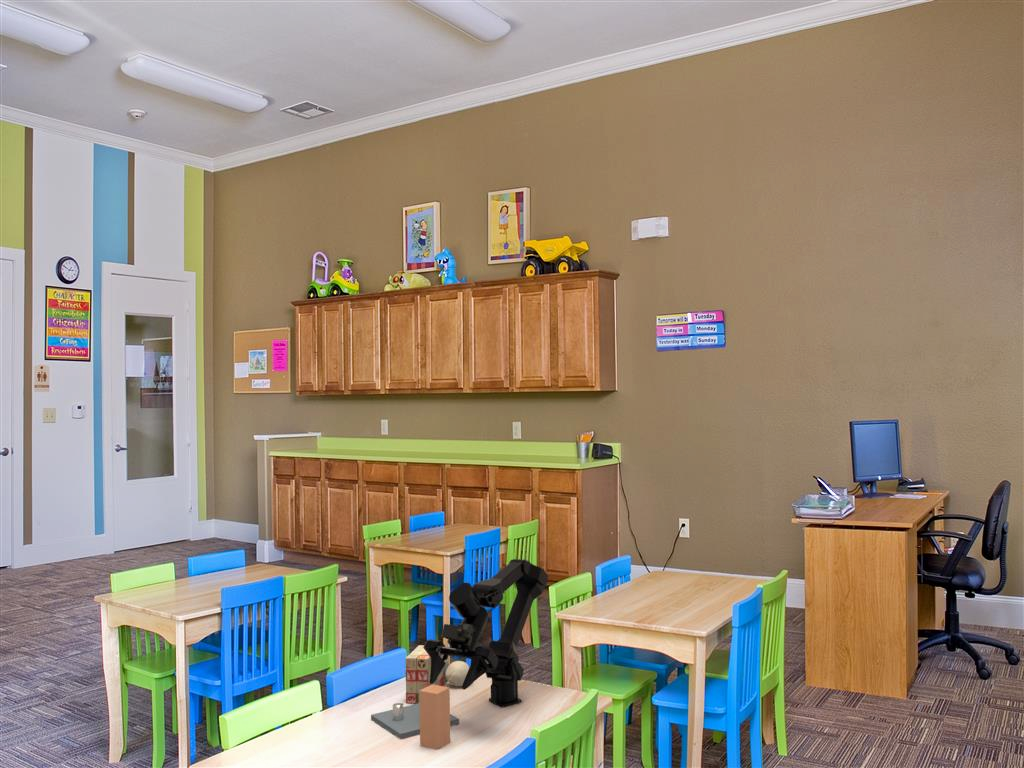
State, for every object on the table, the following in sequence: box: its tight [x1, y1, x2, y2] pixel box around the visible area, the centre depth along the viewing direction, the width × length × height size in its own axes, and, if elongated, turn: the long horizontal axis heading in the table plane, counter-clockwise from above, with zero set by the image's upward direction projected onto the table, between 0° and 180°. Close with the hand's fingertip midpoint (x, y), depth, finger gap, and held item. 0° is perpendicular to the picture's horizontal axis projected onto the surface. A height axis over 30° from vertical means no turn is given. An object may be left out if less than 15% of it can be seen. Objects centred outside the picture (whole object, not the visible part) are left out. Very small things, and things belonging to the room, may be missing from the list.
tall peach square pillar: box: [419, 685, 451, 750], centre depth 192 cm, size 5×5×12 cm
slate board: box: [370, 703, 460, 740], centre depth 206 cm, size 16×16×1 cm
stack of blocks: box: [405, 644, 450, 705], centre depth 230 cm, size 21×6×12 cm, turn 169°
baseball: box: [445, 660, 470, 687], centre depth 234 cm, size 7×7×7 cm
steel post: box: [392, 702, 404, 721], centre depth 205 cm, size 3×3×5 cm
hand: (447, 685), depth 197 cm, fingers open, 9 cm apart
